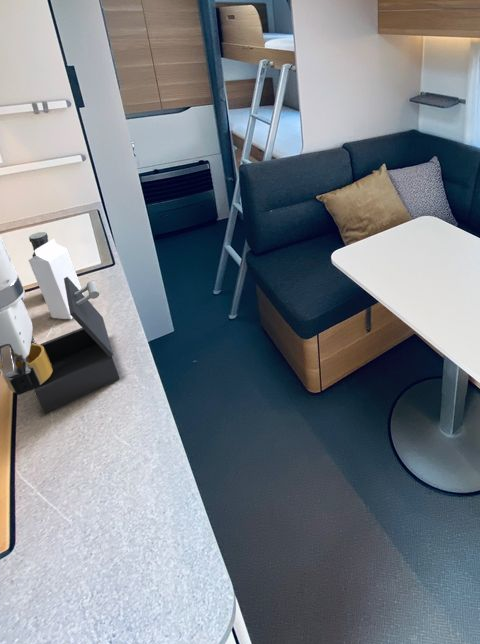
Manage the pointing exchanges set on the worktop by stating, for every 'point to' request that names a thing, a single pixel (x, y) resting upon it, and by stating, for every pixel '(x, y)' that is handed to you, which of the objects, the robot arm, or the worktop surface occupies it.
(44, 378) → the cup
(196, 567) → the worktop surface
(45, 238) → the sauce bottle
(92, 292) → the lid
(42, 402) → the dark grey storage bin
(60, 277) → the milk
